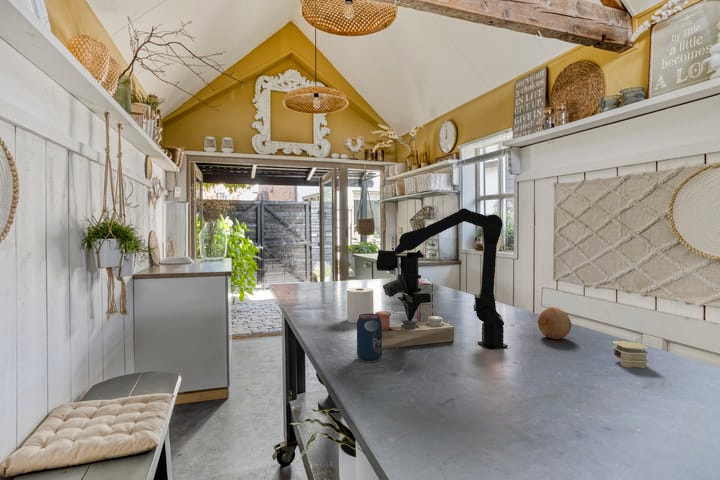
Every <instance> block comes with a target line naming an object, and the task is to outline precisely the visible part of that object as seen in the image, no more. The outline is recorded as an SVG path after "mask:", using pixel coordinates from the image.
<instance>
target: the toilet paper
mask: <svg viewBox="0 0 720 480" xmlns="http://www.w3.org/2000/svg"><path fill="white" fill-rule="evenodd" d="M361 314H374V289H373V288H369V287H350V288H348V289H346V321H347V322H348V323H352V324H357V320H358V318H359V315H361Z"/></svg>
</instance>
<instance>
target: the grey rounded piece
mask: <svg viewBox="0 0 720 480" xmlns="http://www.w3.org/2000/svg"><path fill="white" fill-rule="evenodd" d="M401 323H403V328H405V329H411V328H416V323H417V318H413V319H412V320H410V321H409V320H408V319H407V317H406V318H403V319H401Z"/></svg>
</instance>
